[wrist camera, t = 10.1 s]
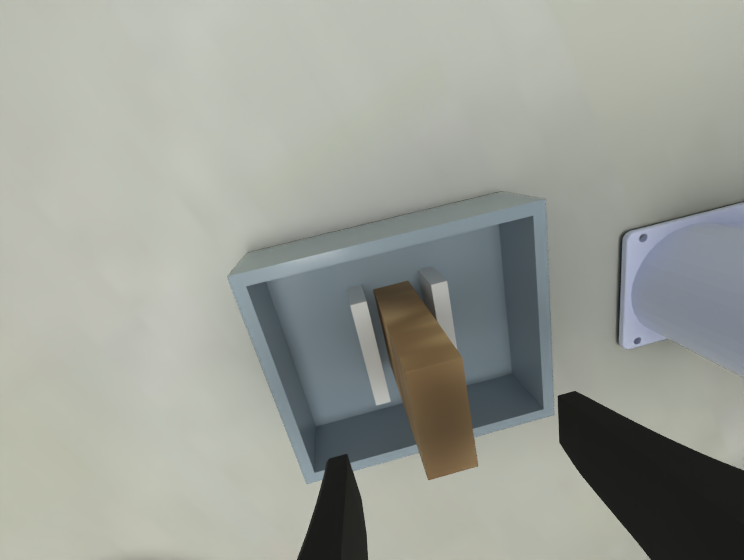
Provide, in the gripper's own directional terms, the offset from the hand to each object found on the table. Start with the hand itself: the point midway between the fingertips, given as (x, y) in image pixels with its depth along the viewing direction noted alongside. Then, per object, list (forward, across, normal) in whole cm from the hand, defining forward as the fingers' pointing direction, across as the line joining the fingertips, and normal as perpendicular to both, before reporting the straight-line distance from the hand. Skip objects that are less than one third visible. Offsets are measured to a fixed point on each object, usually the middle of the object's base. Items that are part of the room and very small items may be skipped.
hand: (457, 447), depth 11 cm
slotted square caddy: (+10, 0, 0) cm, 10 cm away
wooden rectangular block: (+9, 0, 0) cm, 9 cm away
